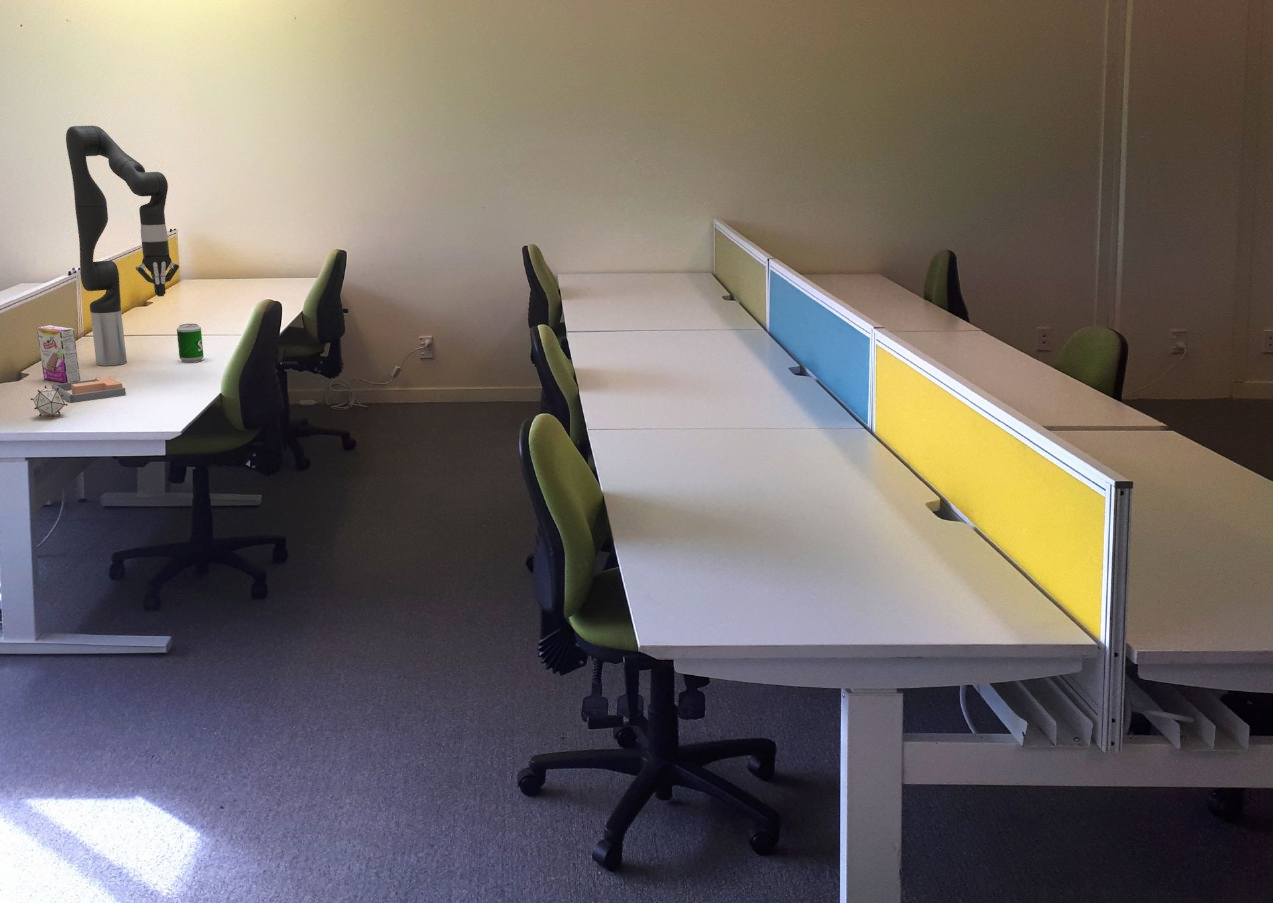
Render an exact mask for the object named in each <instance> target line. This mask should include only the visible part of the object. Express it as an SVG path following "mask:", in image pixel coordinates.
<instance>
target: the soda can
mask: <svg viewBox="0 0 1273 903" xmlns="http://www.w3.org/2000/svg"><path fill="white" fill-rule="evenodd" d="M176 335H177V345H178V356H179V360H181V362H183V363H188V364H189V363H190V364H191V363H199V362H202V359H203V358H204V347H203V338H202V337H203V335H202V327H201V326H200V325H199V324H197V323H182V324H179V325H178V327H177V328H176ZM203 360H204V359H203Z"/></svg>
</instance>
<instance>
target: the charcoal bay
mask: <svg viewBox="0 0 1273 903" xmlns="http://www.w3.org/2000/svg"><path fill="white" fill-rule="evenodd" d="M93 381H96V380H95V378H94V379H87V380H86V379H85V380H80V381H76V382H70V383H62V382H61V383H55V384H51V389H54V390H57V388H59V390H58V392H59V393H60V395H62V394H63V395H64V396H63V397H62V398H63V400H66V401H67V402H68V403H77V402H85V401H91V400H99V398H100V399H106V398H107V397H108V398H113V397H112V396H115V397H122V396H126V395H127V392H126V387H123V388H118V389H111V390H103V391H96V392H88V393H81V394H72V393H70V392H68V391H72V388H71V384H78V383H85V382H93ZM125 394H126V395H125ZM121 395H122V396H121Z"/></svg>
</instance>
